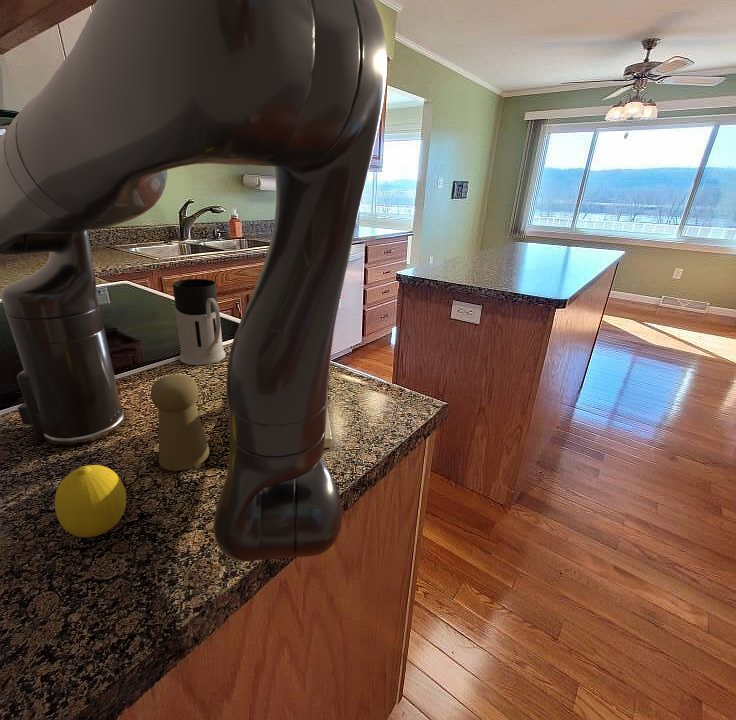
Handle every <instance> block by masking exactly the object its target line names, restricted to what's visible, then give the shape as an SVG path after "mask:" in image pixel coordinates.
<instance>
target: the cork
mask: <svg viewBox="0 0 736 720" xmlns="http://www.w3.org/2000/svg"><path fill="white" fill-rule="evenodd" d="M198 398H199V387H198V383H197V381H195V380H194V378H193V377H192V376H189V375H185V374H171V375H167V376H163V377H161V378H160V379H157V380H155V382H154V383H153V384H152V386H151V388H150V400H151V402H152V404H153V406H155V408H157V415H158V418H157V420H158V423H157V424H158V464H159V466H160V467H161V468H163V469H165V470H167V471H173V472H177V471H179V472H181V471H186V470H190V469H192V468H196V467H198V466H200V465H201V464H203V463H204V462H205V461H206V460H207V459H208V458H209V456H210V453H211V452H210V447H209V444H208V440H207V437H206V433H205V430H204V427H203V424H202V423H203V422H202V420H201V417H200V413H199V410H198V407H197V404H196V402H197V400H198Z"/></svg>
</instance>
